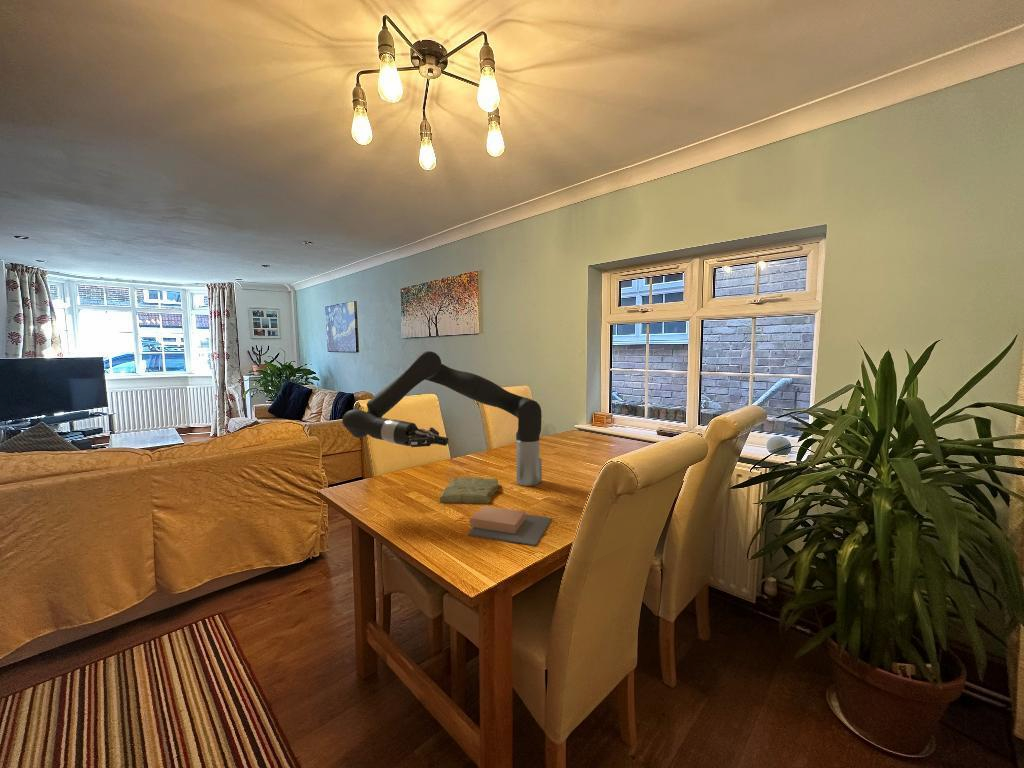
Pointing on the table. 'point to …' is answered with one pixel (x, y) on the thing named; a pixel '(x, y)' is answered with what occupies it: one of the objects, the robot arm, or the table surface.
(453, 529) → the table surface
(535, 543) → the charcoal mat
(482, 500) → the olive green flat block
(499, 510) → the glazed tile
